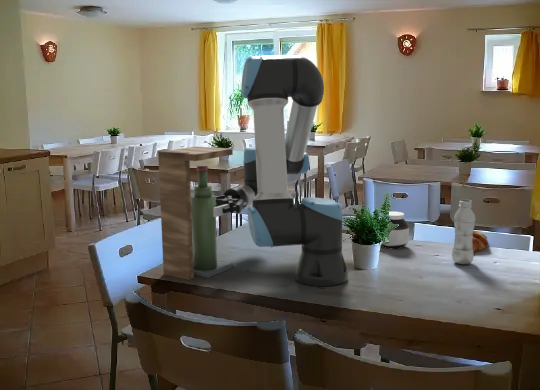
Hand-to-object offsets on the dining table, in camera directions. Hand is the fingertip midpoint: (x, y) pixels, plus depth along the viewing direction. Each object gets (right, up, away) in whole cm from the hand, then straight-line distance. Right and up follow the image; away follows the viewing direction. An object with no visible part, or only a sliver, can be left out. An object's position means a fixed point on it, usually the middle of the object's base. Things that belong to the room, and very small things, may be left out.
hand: (196, 210), depth 176 cm
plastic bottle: (+82, -17, +9) cm, 84 cm away
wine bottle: (+2, -18, +6) cm, 19 cm away
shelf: (+1, -19, +4) cm, 19 cm away
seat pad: (+2, -18, +6) cm, 19 cm away
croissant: (+91, -14, +26) cm, 96 cm away
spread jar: (+63, -14, +29) cm, 70 cm away
